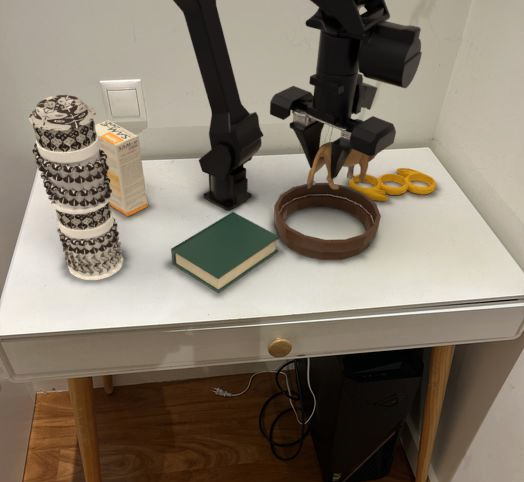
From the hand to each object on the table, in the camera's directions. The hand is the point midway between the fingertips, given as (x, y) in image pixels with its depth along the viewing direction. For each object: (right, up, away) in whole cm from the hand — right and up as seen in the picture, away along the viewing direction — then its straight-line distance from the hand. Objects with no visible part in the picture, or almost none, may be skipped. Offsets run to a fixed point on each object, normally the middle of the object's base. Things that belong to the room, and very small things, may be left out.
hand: (323, 172), depth 88 cm
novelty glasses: (+15, +3, +19) cm, 24 cm away
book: (-15, -13, +3) cm, 20 cm away
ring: (+1, -7, +9) cm, 11 cm away
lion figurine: (+3, -1, +4) cm, 5 cm away
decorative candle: (-36, -14, +1) cm, 38 cm away
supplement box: (-34, -2, +12) cm, 36 cm away
